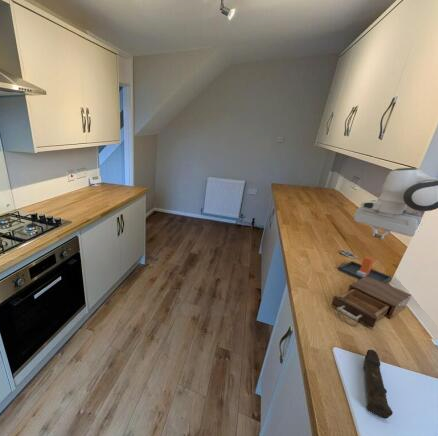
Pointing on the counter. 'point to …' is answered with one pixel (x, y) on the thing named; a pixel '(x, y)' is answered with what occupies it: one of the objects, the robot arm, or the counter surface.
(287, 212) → the counter surface
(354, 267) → the tray
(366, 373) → the dark brown elongated piece
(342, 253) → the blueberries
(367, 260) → the orange and white box
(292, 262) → the counter surface
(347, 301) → the drawer
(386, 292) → the cabinet
